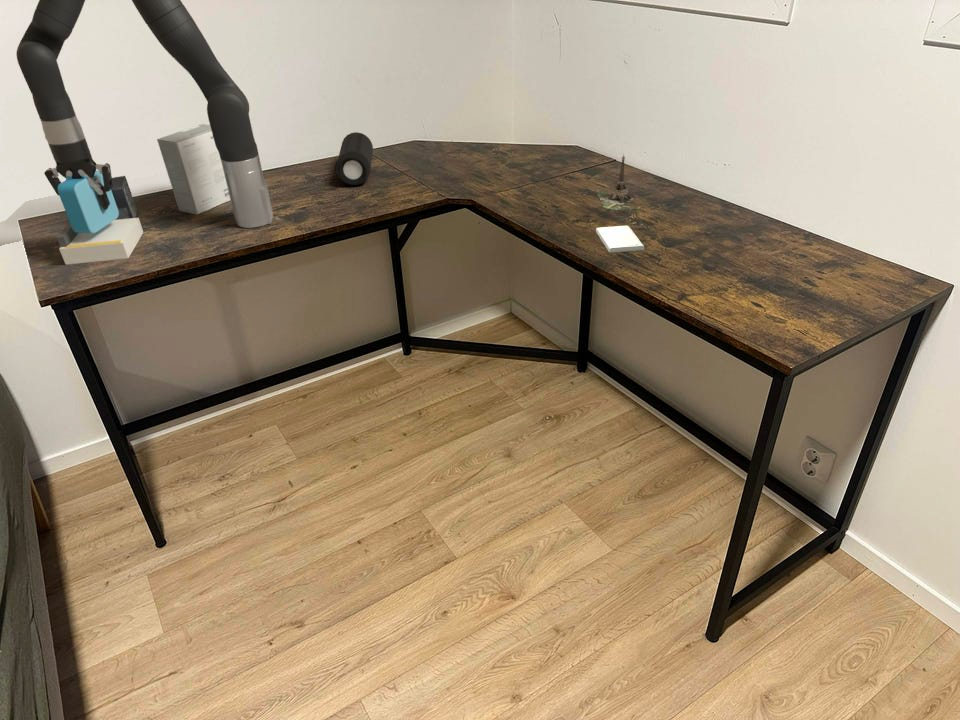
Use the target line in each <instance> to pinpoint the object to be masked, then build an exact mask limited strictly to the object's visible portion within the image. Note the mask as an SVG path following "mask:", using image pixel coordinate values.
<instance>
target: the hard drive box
mask: <svg viewBox="0 0 960 720" xmlns="http://www.w3.org/2000/svg"><path fill="white" fill-rule="evenodd" d="M156 140H157V143H158V146H159V147H158V148H159V150H160V154H161V156H162V160H163V163H164V166H165V170H166V173H167V175H168V179H169V182H170V184H171V185H170V186H171V188H172V191H173V195H174V199H175V202H176V205H177V207H178V210H179V212H183V213H186V214H187V213H188V214H192V215H195V216H196V215H199V214H201V213H205V212H207V211H209V210H211V209H213V208H215V207H218V206H220V205H222V204H225V203H227V202H231V199H230V195H229V191H228V187H227V183H226V179H225V175H224V171H223V167H222V163H221V159H220V155H219V152H218V150H217V148H216V145H215V141H214V138H213V134H212V130H211V126H210V124H205V123H201V124H198V125H195V126H192V127H189V128H185V129H182V130H180V131H178V132H174V133H172V134H169V135H166V136H162V137H160V138H157V139H156Z"/></svg>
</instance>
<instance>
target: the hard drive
mask: <svg viewBox="0 0 960 720" xmlns="http://www.w3.org/2000/svg"><path fill="white" fill-rule="evenodd" d="M595 232H596V234H597V235H598V238H600V240H601V242H602V244H603V245H604V246H605V248H606V250H607V252H608V253H621V252H623V253H624V252H634V251H635V252H636V251H644V250H645V246H644V244H643V243H642V242H641V241H640V239H639V238H638V236H637V235H636V234H635V233H634V231H633V230H632V228H631V227H630V226H629V225H617V226H614V225H613V226H602V227H596V228H595Z"/></svg>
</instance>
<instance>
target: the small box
mask: <svg viewBox="0 0 960 720" xmlns="http://www.w3.org/2000/svg"><path fill="white" fill-rule="evenodd" d="M112 183H113V187H112V189H111V191H112V194H113V197H114V200H115V202H116V205H117V208H118V212H119V215H118V218H117V219H115V220H119V219H130V218H138V215H139V211H138V208H137V205H136V202H135V200H134V197H133V195H132V190H131V189H130V185H129V183H128V179H127V177H126V175H121V176H113V177H112Z"/></svg>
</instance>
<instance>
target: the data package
mask: <svg viewBox="0 0 960 720" xmlns="http://www.w3.org/2000/svg"><path fill="white" fill-rule="evenodd" d="M95 176H97V177H98V179H99V180H100V182H101V184H102V185H103V186H104V182H103V175H102V174H100V172H99V170H96V172H95V174H94V177H93V178H92V180H93V181H95V180H96V177H95ZM87 179H88V178H87ZM87 179H84V178H78V179H72V180H66V179H65V180H64V181H61V183H60V184H59V185H58V193H59V195H58V196H59V198H60V201H61V204H62V206H63V208H64V211H65V213H66V217H67V218H68V221H69V222H70V224H71V226H72V229H73V231H74V232H76V233H96V232H97V231H99V230H100V229H102V228H103V227H105V226H106V225H108V224H109V223H111V222H112V221H114V220H115V219H117V218H118V215H119V212H118V208H117V205H116V202H115V200H114V197H113V194H112V191H111V190H110V191H108V192H106V193H107V196H108V199H109V202H110V205H109V206H108V209H107V210H103V208H102V206H101V203H100V200H99V197H98V195H99V194H98V193H97V192H96V191H95V189H94V188H93V187H91V186H90V185H89V184H88V181H87Z"/></svg>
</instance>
